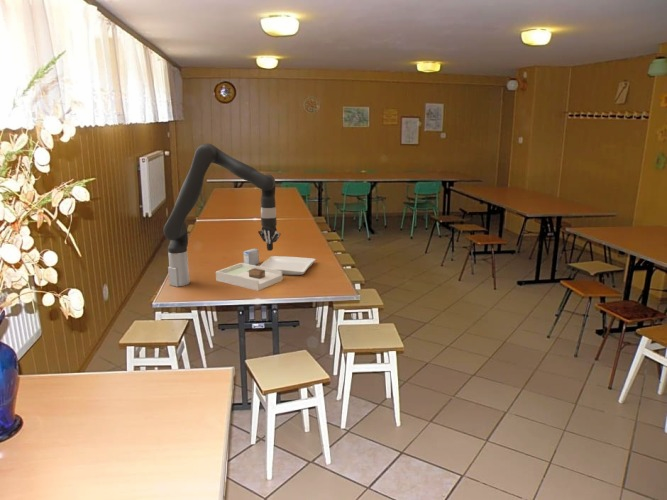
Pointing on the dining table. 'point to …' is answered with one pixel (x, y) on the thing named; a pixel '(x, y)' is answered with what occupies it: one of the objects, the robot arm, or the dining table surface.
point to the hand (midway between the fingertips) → (270, 250)
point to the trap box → (241, 276)
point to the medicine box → (251, 257)
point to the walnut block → (256, 273)
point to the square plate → (288, 264)
